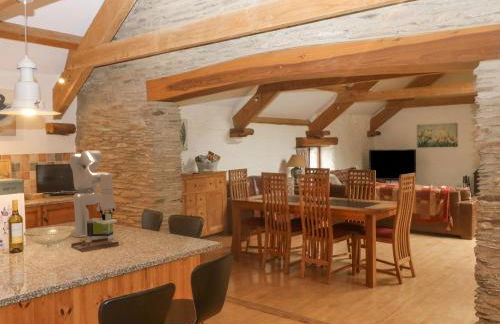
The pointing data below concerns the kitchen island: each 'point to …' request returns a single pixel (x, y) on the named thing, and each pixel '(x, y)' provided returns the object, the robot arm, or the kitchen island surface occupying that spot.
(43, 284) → the kitchen island surface
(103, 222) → the panel
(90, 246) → the board
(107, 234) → the tea box
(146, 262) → the kitchen island surface
